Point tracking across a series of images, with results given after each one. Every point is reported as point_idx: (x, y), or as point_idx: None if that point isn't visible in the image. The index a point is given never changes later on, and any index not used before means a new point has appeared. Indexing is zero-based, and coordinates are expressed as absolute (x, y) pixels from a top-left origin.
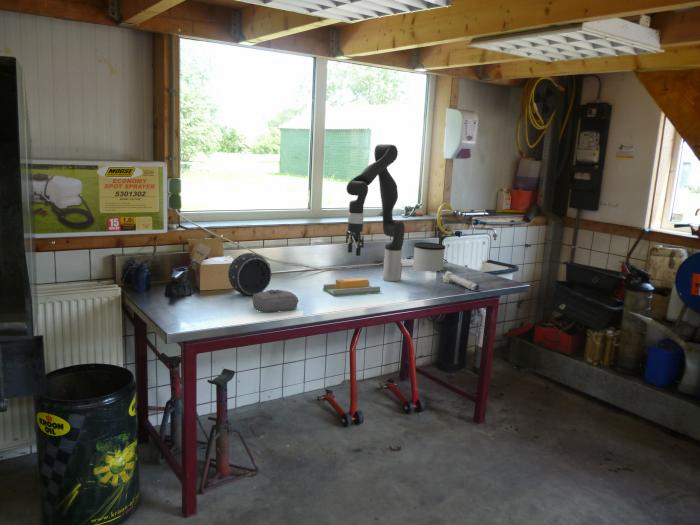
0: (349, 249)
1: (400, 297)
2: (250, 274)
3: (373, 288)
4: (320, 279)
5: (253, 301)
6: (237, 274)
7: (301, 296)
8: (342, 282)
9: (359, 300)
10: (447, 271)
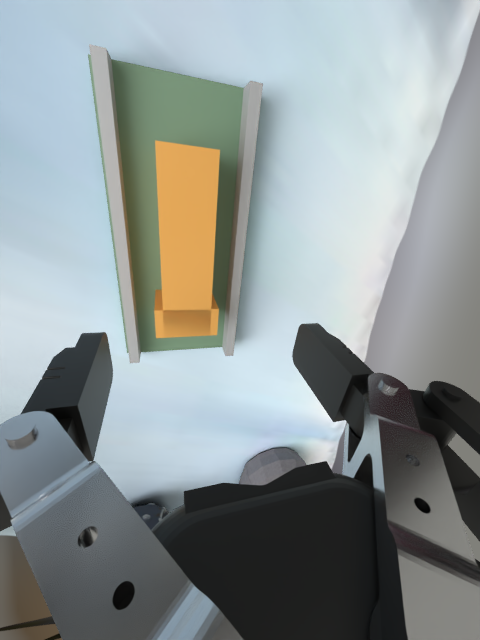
0: (103, 392)
1: (379, 46)
2: None
3: (254, 145)
4: None
5: None
6: None
7: (195, 424)
8: (217, 327)
9: (311, 283)
10: None
